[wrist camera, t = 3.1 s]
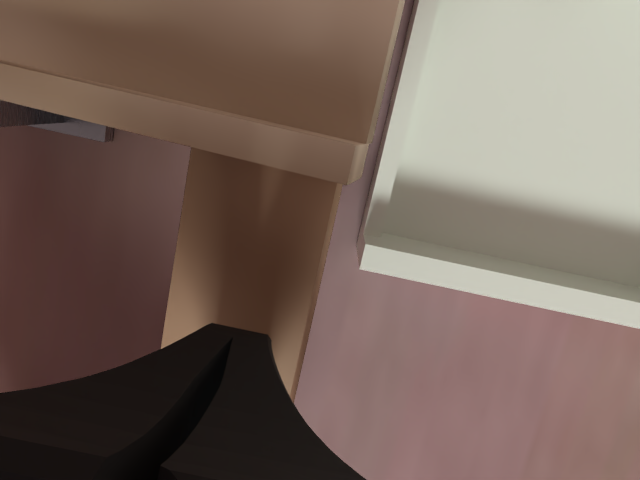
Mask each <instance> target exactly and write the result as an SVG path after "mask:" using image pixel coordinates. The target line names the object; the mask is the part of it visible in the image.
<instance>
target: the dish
mask: <svg viewBox="0 0 640 480" xmlns="http://www.w3.org/2000/svg"><path fill="white" fill-rule="evenodd" d="M356 249H357V255H358V262H359V269H361V270H366V271H371V272H376V273H380V274H385V275H390V276H394V277H399V278H404V279H408V280H413V281H418V282H423V283H427V284H432V285H437V286H441V287H446V288H451V289H455V290H460V291H465V292H470V293H474V294H479V295H484V296H488V297H493V298H498V299H502V300H507V301H512V302H517V303H521V304H526V305H531V306H535V307H540V308H545V309H549V310H554V311H559V312H564V313H568V314H573V315H578V316H582V317H587V318H592V319H596V320H601V321H606V322H610V323H615V324H620V325H625V326H629V327H634V328H639V329H640V0H415V1H414V5H413V9H412V13H411V18H410V22H409V26H408V30H407V34H406V39H405V43H404V47H403V51H402V55H401V60H400V64H399V68H398V72H397V76H396V81H395V85H394V89H393V93H392V98H391V102H390V106H389V110H388V114H387V119H386V123H385V127H384V131H383V135H382V140H381V144H380V148H379V152H378V156H377V161H376V165H375V169H374V173H373V178H372V182H371V186H370V190H369V194H368V199H367V203H366V207H365V211H364V215H363V220H362V224H361V228H360V232H359V236H358V241H357V245H356Z"/></svg>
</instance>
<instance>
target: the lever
mask: <svg viewBox="0 0 640 480" xmlns="http://www.w3.org/2000/svg"><path fill="white" fill-rule="evenodd" d="M404 4H405V0H0V100H3V101H7V102H11V103H15V104H19V105H23V106H27V107H31V108H35V109H39V110H43V111H47V112H51V113H55V114H60V115H64V116H68V117H72V118H76V119H80V120H84V121H88V122H92V123H96V124H100V125H104V126H108V127H112V128H116V129H120V130H124V131H128V132H133V133H137V134H141V135H145V136H149V137H153V138H157V139H161V140H165V141H169V142H173V143H177V144H181V145H185V146H189V147H191V153H190V160H189V166H188V173H187V179H186V186H185V192H184V199H183V206H182V212H181V219H180V225H179V232H178V238H177V245H176V251H175V258H174V264H173V271H172V278H171V284H170V291H169V297H168V304H167V310H166V317H165V323H164V330H163V336H162V343H161V349H162V348H164V347H166V346H168V345H170V344H172V343H174V342H176V341H178V340H180V339H182V338H184V337H186V336H187V335H189V334H191V333H193V332H195V331H197V330H198V329H200V328H202V327H204V326H206V325H208V324H210V323H215V324H220V325H225V326H229V327H234V328H239V329H244V330H248V331H253V332H258V333H263V334H268V336H269V337H270V339H271V340H272V342H271V344H272V351H273V356H274V359H275V363H276V366H277V369H278V371H279V374H280V376H281V379H282V381H283V384H284V386H285V388H286V390H287V392H288V394H289V396H290V398H291V400H292V402H293V403H294V399H295V395H296V390H297V386H298V382H299V377H300V373H301V368H302V364H303V359H304V355H305V350H306V346H307V341H308V337H309V333H310V328H311V324H312V319H313V315H314V310H315V306H316V301H317V297H318V293H319V288H320V284H321V279H322V275H323V270H324V266H325V261H326V257H327V252H328V248H329V244H330V239H331V235H332V230H333V226H334V221H335V217H336V212H337V208H338V203H339V199H340V195H341V190H342V186H343V185H348V184H350V183H352V182H354V181H356V180H358V179H360V178H361V177H362V172H363V168H364V164H365V159H366V155H367V151H368V147H369V144H370V143H372V141H373V137H374V132H375V128H376V124H377V119H378V115H379V111H380V107H381V102H382V98H383V94H384V90H385V85H386V81H387V77H388V72H389V68H390V64H391V60H392V55H393V51H394V47H395V42H396V38H397V34H398V30H399V25H400V21H401V17H402V12H403V8H404Z"/></svg>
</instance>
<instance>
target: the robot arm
mask: <svg viewBox="0 0 640 480" xmlns="http://www.w3.org/2000/svg"><path fill="white" fill-rule="evenodd" d="M271 342H272V340H271V339H270V337H269V336H268V334H263V333H258V332H253V331H248V330H244V329H239V328H234V327H229V326H225V325H220V324H215V323H210V324H208V325H206V326H204V327H202V328H200V329H198V330H197V331H195V332H193V333H191V334H189V335H187V336H186V337H184V338H182V339H180V340H178V341H176V342H174V343H172V344H170V345H168V346H166V347H164V348H162V349H160V350H158V351H155V352H153V353H151V354H148V355H146V356H144V357H142V358H139V359H137V360H135V361H132V362H130V363H127V364H125V365H122V366H119V367H116V368H114V369H111V370H107V371H104V372H101V373H98V374H94V375H91V376H87V377H84V378H80V379H75V380H71V381H66V382H61V383H57V384H52V385H47V386H43V387H38V388H32V389H26V390H19V391H12V392H5V393H0V480H366V479H365V478H363V477H362V476H361V475H359V474H358V473H357V472H356V471H354V470H353V469H352V468H351V467H349V466H348V465H347V464H346V463H344V462H343V461H342V460H341V459H340V458H339V457H338V456H337V455H335V454H334V453H333V452H332V451H331V450H330V449H329V448H328V447H327V446H326V445H325V444H324V443H323V442H322V440H321V439H320V438H319V437H318V436H317V435H316V434H315V433H314V432H313V431H312V429H311V428H310V427H309V426H308V425H307V423H306V422H305V421H304V419H303V418H302V416H301V415H300V413H299V412H298V410H297V409H296V407H295V405H294V403H293V402H292V400H291V398H290V396H289V394H288V392H287V390H286V388H285V386H284V384H283V381H282V379H281V376H280V374H279V371H278V369H277V366H276V363H275V359H274V356H273V351H272V344H271Z"/></svg>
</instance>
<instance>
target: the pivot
mask: <svg viewBox="0 0 640 480" xmlns="http://www.w3.org/2000/svg"><path fill="white" fill-rule="evenodd" d="M22 125H27V126H32V127H36V128H41V129H46V130H50V131H55V132H59V133H64V134H69V135H73V136H78V137H83V138H87V139H92V140H97V141H101V142H109V141H113V134H114V128H112V127H108V126H104V125H100V124H96V123H92V122H88V121H84V120H80V119H76V118H72V117H68V116H64V115H60V114H55V113H51V112H47V111H43V110H39V109H35V108H31V107H27V106H23V105H19V104H15V103H11V102H7V101H3V100H0V127H7V126H22Z"/></svg>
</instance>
